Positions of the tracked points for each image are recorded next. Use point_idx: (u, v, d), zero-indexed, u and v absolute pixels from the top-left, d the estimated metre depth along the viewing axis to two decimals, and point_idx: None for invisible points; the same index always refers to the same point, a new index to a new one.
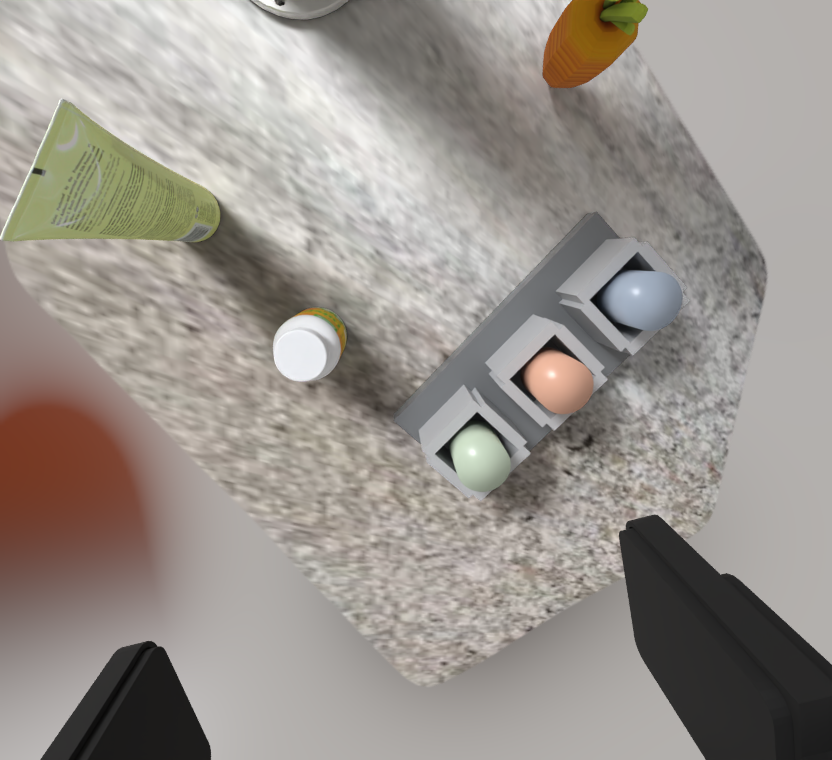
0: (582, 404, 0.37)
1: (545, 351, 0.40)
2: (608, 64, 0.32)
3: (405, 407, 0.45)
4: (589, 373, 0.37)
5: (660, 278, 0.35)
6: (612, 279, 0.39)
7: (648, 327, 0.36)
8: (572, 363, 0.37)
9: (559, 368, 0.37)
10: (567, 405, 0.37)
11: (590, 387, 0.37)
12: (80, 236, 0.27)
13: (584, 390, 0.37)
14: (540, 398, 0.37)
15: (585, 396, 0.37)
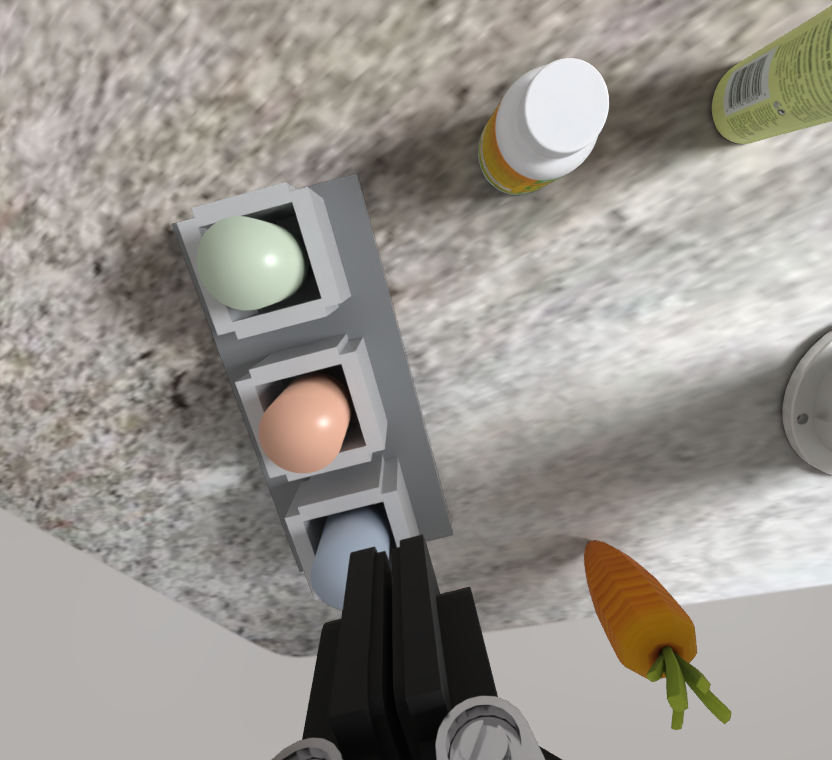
0: (263, 443, 0.25)
1: None
2: (616, 630, 0.29)
3: (364, 201, 0.30)
4: (302, 471, 0.26)
5: None
6: (388, 532, 0.31)
7: (321, 560, 0.27)
8: (328, 457, 0.25)
9: (331, 439, 0.25)
10: (273, 425, 0.25)
11: (282, 464, 0.25)
12: None
13: (282, 455, 0.25)
14: (303, 396, 0.25)
15: (273, 452, 0.25)
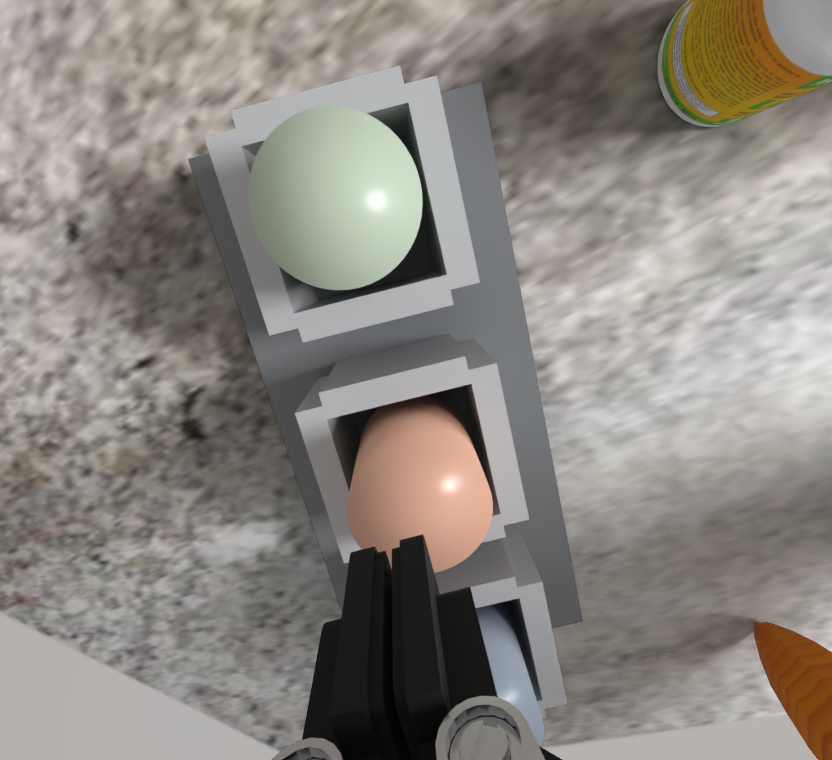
0: (354, 525, 0.14)
1: None
2: None
3: None
4: None
5: None
6: (517, 640, 0.20)
7: None
8: (464, 549, 0.15)
9: (472, 519, 0.14)
10: (373, 494, 0.14)
11: None
12: None
13: (385, 544, 0.15)
14: (430, 445, 0.14)
15: (369, 540, 0.15)
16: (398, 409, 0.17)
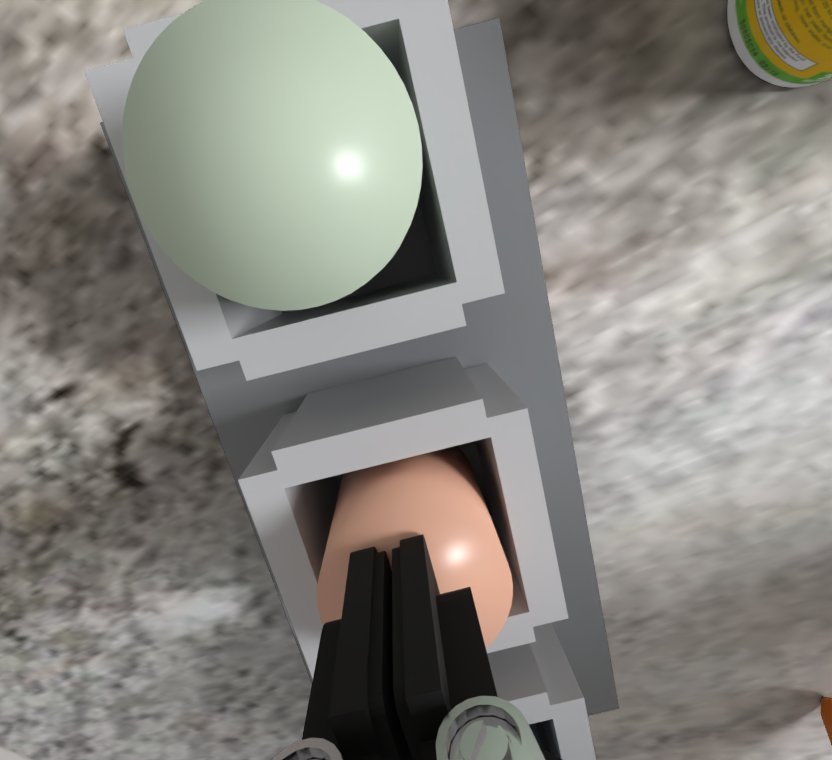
0: (327, 617, 0.11)
1: None
2: None
3: None
4: None
5: None
6: None
7: None
8: None
9: (485, 606, 0.11)
10: None
11: None
12: None
13: None
14: (429, 512, 0.10)
15: None
16: None
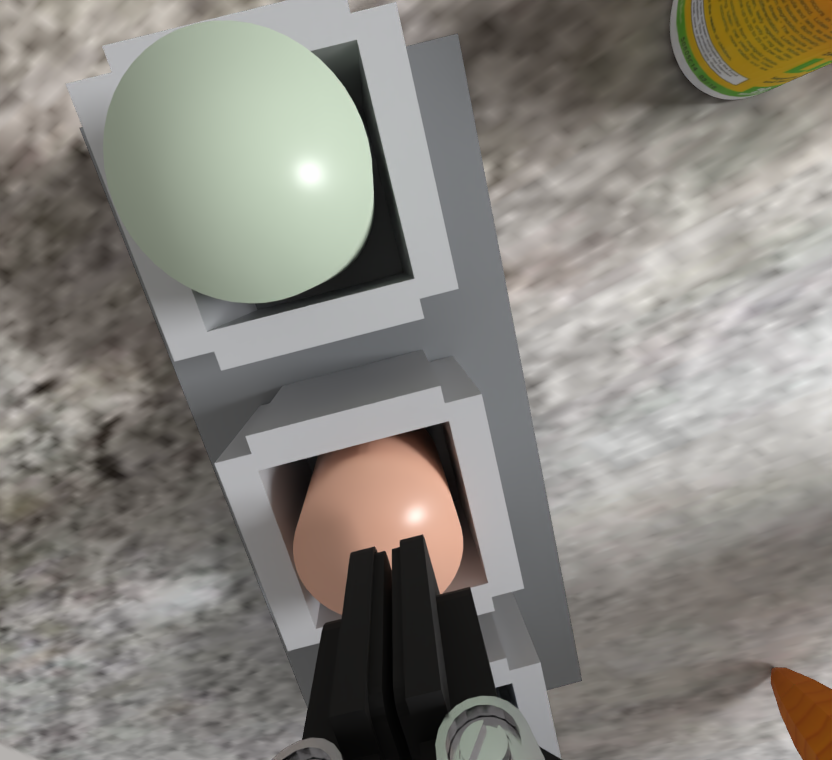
0: (302, 568, 0.12)
1: None
2: None
3: None
4: None
5: None
6: None
7: None
8: None
9: (440, 556, 0.13)
10: (324, 532, 0.12)
11: (338, 605, 0.13)
12: None
13: (339, 588, 0.13)
14: (389, 474, 0.12)
15: (321, 584, 0.12)
16: None
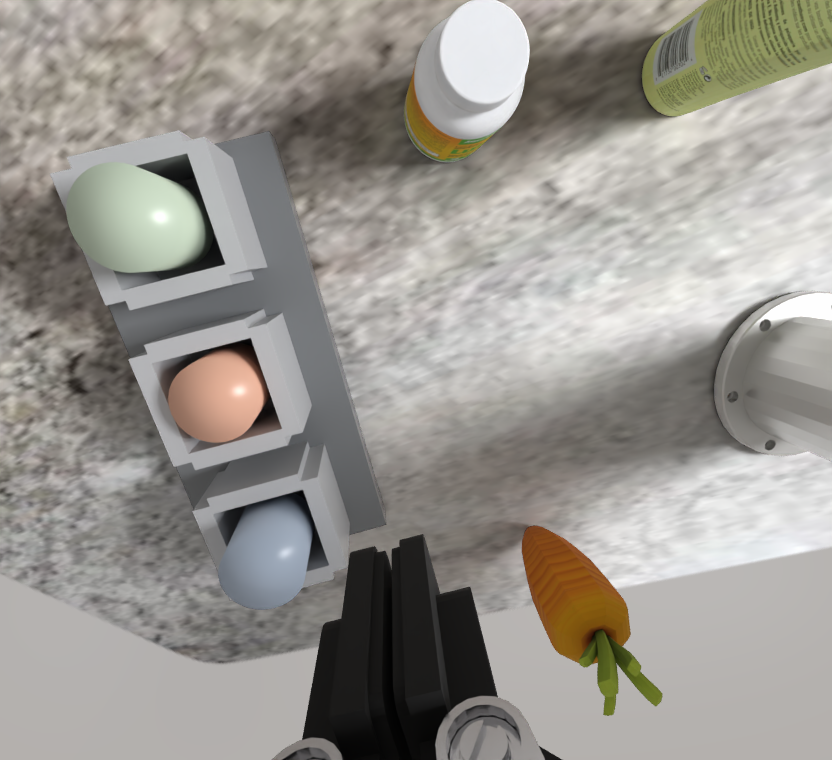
0: (174, 412, 0.24)
1: (269, 394, 0.28)
2: (549, 616, 0.28)
3: (279, 163, 0.28)
4: (216, 440, 0.25)
5: (288, 591, 0.25)
6: (310, 523, 0.28)
7: (229, 555, 0.24)
8: (243, 426, 0.25)
9: (246, 407, 0.25)
10: (184, 392, 0.24)
11: (194, 433, 0.25)
12: None
13: (194, 423, 0.25)
14: (215, 362, 0.24)
15: (184, 421, 0.24)
16: (216, 349, 0.27)
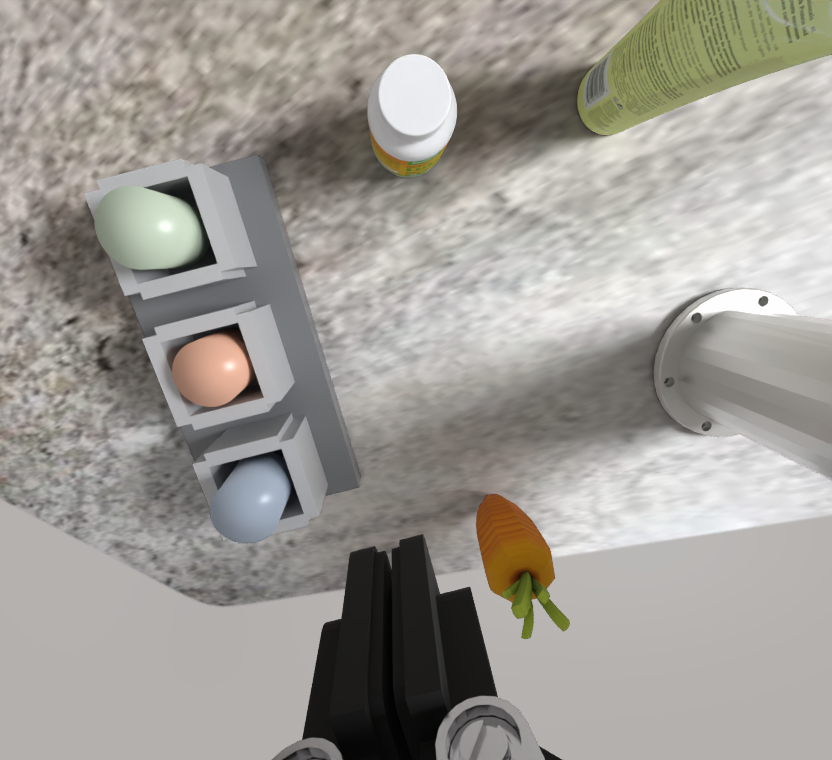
0: (176, 381, 0.30)
1: None
2: (485, 560, 0.33)
3: (266, 180, 0.34)
4: (210, 405, 0.31)
5: (265, 528, 0.31)
6: (288, 478, 0.34)
7: (218, 497, 0.30)
8: (231, 393, 0.31)
9: (233, 378, 0.31)
10: (184, 365, 0.30)
11: (193, 398, 0.31)
12: None
13: (192, 391, 0.31)
14: (209, 341, 0.30)
15: (185, 388, 0.31)
16: (213, 333, 0.33)
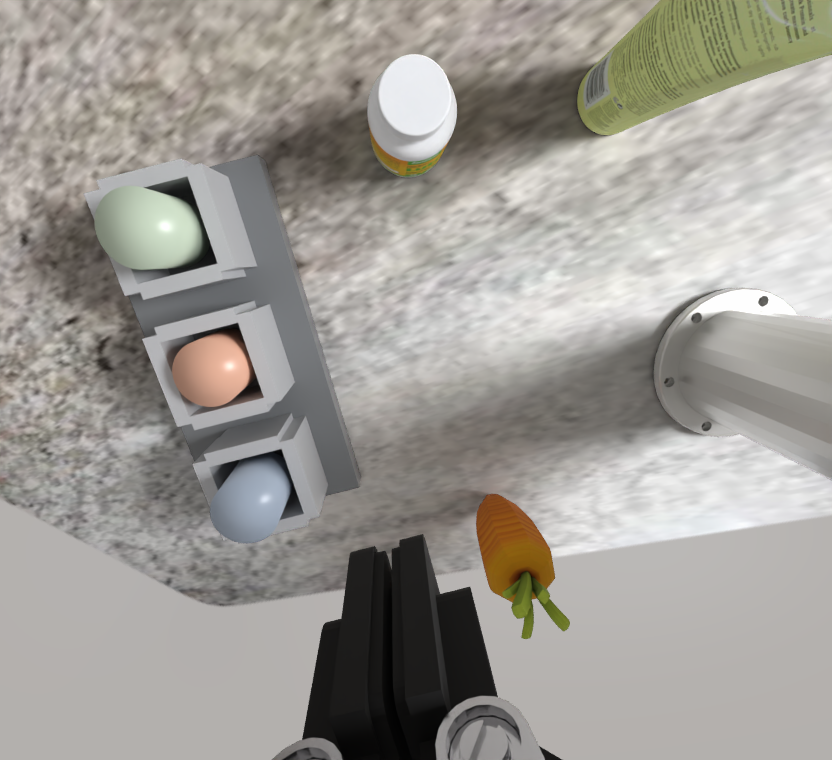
0: (176, 381, 0.30)
1: None
2: (485, 560, 0.33)
3: (266, 180, 0.34)
4: (210, 405, 0.31)
5: (265, 528, 0.31)
6: (288, 478, 0.34)
7: (218, 497, 0.30)
8: (231, 393, 0.31)
9: (233, 378, 0.31)
10: (184, 365, 0.30)
11: (193, 398, 0.31)
12: None
13: (192, 391, 0.31)
14: (209, 341, 0.30)
15: (185, 388, 0.31)
16: (213, 333, 0.33)
